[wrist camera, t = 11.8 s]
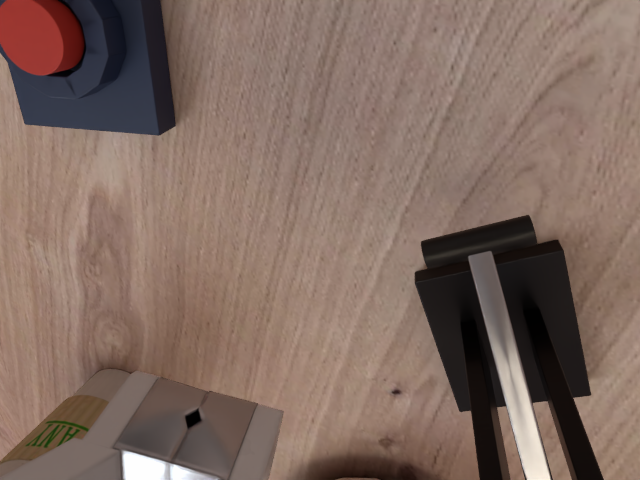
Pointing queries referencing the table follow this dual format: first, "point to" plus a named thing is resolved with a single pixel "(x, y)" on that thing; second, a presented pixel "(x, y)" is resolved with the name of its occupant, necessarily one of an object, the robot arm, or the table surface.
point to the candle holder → (358, 479)
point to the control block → (105, 73)
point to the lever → (498, 322)
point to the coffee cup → (67, 419)
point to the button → (40, 35)
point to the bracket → (532, 342)
